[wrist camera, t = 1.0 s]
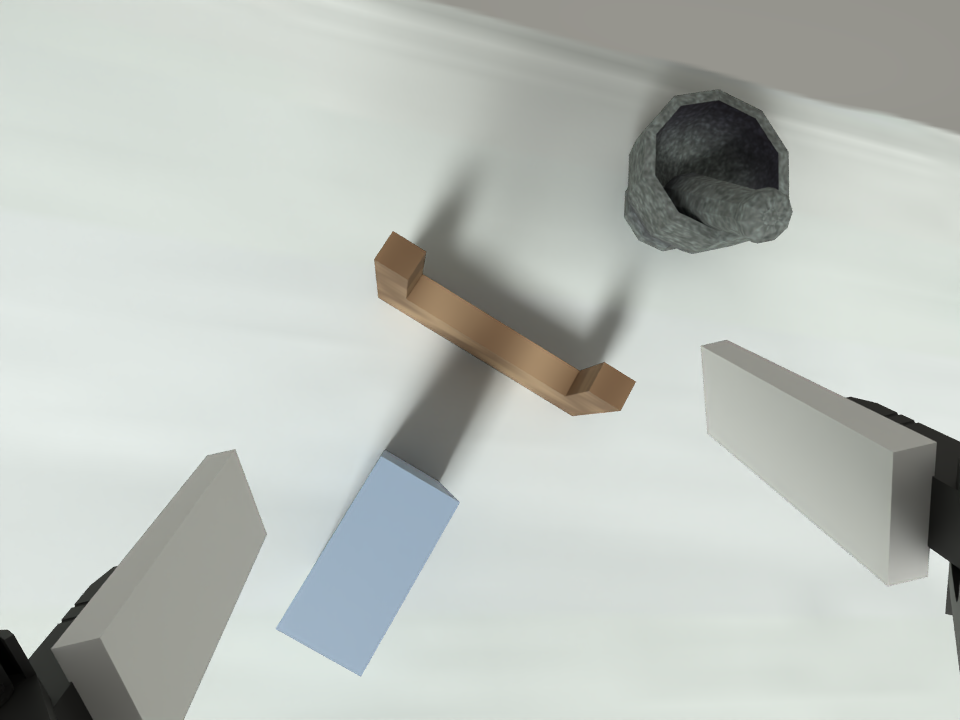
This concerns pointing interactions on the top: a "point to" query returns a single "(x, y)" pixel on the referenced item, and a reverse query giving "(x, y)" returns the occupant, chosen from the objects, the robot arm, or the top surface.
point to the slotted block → (370, 564)
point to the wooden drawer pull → (493, 336)
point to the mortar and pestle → (707, 176)
